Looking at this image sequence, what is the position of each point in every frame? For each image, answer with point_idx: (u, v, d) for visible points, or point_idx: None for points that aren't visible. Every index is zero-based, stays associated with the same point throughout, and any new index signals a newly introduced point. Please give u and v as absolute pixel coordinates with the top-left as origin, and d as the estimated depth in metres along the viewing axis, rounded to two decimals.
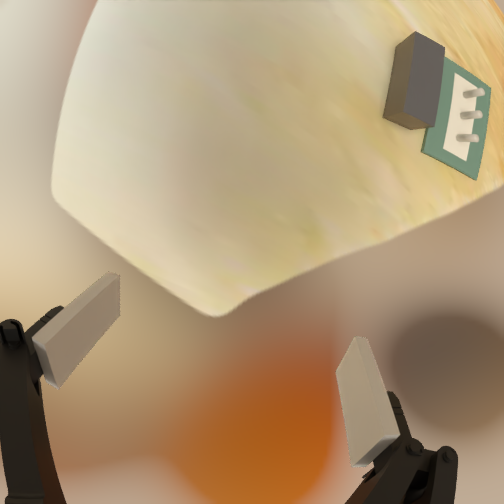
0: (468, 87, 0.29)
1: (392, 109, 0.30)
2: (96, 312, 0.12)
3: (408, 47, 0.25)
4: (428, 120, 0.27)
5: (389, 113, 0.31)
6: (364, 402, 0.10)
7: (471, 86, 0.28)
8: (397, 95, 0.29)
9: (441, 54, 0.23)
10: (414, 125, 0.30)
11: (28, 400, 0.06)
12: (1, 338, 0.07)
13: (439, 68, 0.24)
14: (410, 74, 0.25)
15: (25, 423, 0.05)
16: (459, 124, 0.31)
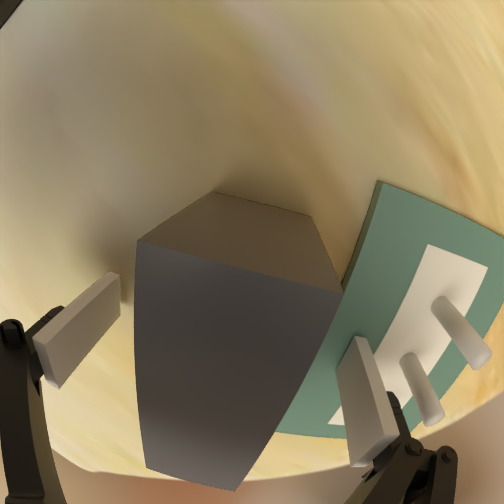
0: (460, 275, 0.12)
1: None
2: (96, 312, 0.12)
3: None
4: (216, 485, 0.10)
5: None
6: (364, 402, 0.10)
7: (472, 268, 0.12)
8: None
9: (299, 346, 0.07)
10: None
11: (28, 400, 0.06)
12: (1, 338, 0.07)
13: (270, 403, 0.07)
14: (142, 419, 0.09)
15: (25, 423, 0.05)
16: (390, 379, 0.15)
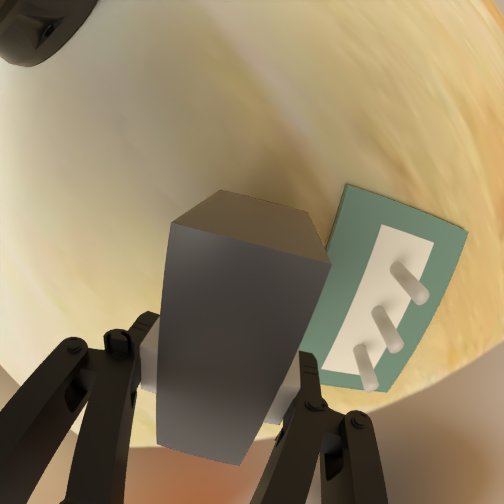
0: (410, 247, 0.20)
1: None
2: None
3: None
4: (222, 459, 0.12)
5: None
6: None
7: (420, 243, 0.20)
8: None
9: (297, 308, 0.09)
10: None
11: (122, 416, 0.07)
12: (106, 345, 0.09)
13: (273, 363, 0.09)
14: (159, 388, 0.11)
15: (111, 438, 0.06)
16: (366, 328, 0.22)
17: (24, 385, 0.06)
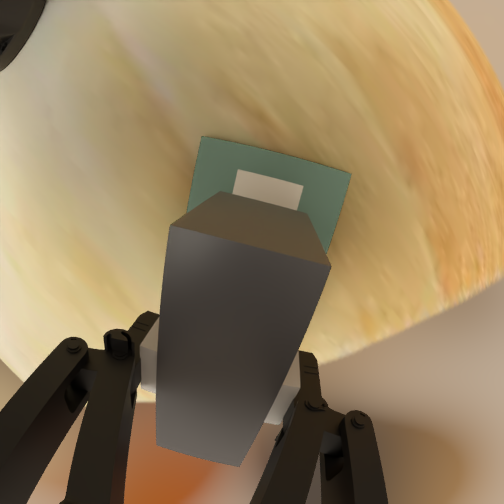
0: (275, 191, 0.22)
1: None
2: None
3: None
4: (221, 460, 0.12)
5: None
6: None
7: (286, 186, 0.21)
8: None
9: (297, 310, 0.09)
10: None
11: (122, 416, 0.07)
12: (106, 345, 0.09)
13: (273, 365, 0.09)
14: (158, 389, 0.10)
15: (111, 438, 0.06)
16: None
17: (24, 385, 0.06)
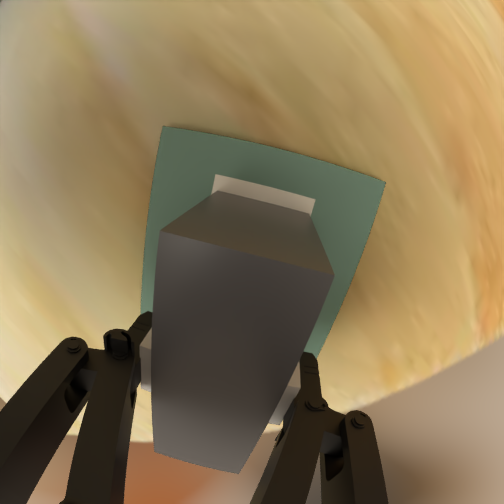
0: None
1: None
2: None
3: None
4: (220, 467, 0.12)
5: None
6: None
7: (288, 200, 0.14)
8: None
9: (297, 322, 0.08)
10: None
11: (122, 416, 0.07)
12: (106, 345, 0.09)
13: (272, 377, 0.09)
14: (154, 399, 0.10)
15: (111, 438, 0.06)
16: None
17: (24, 385, 0.06)
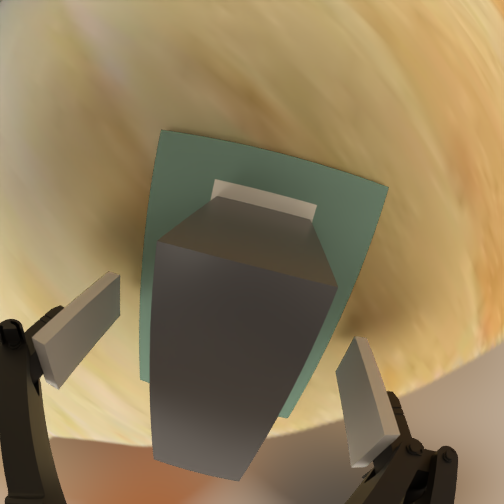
0: None
1: None
2: (96, 312, 0.12)
3: None
4: (220, 475, 0.11)
5: None
6: (364, 402, 0.10)
7: (289, 206, 0.14)
8: None
9: (299, 334, 0.08)
10: None
11: (28, 400, 0.06)
12: (1, 338, 0.07)
13: (273, 389, 0.08)
14: (153, 408, 0.10)
15: (25, 423, 0.05)
16: None
17: None
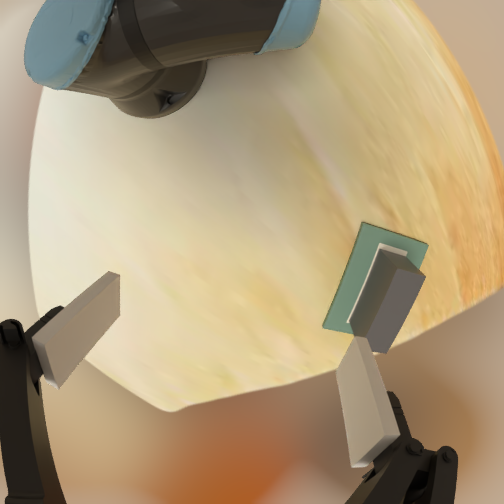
0: None
1: (355, 328, 0.39)
2: (96, 312, 0.12)
3: (385, 278, 0.34)
4: (381, 350, 0.36)
5: (352, 327, 0.40)
6: (364, 402, 0.10)
7: (399, 252, 0.38)
8: (362, 320, 0.38)
9: (418, 287, 0.32)
10: None
11: (28, 400, 0.06)
12: (1, 338, 0.07)
13: (410, 302, 0.33)
14: (375, 317, 0.34)
15: (25, 423, 0.05)
16: None
17: None
